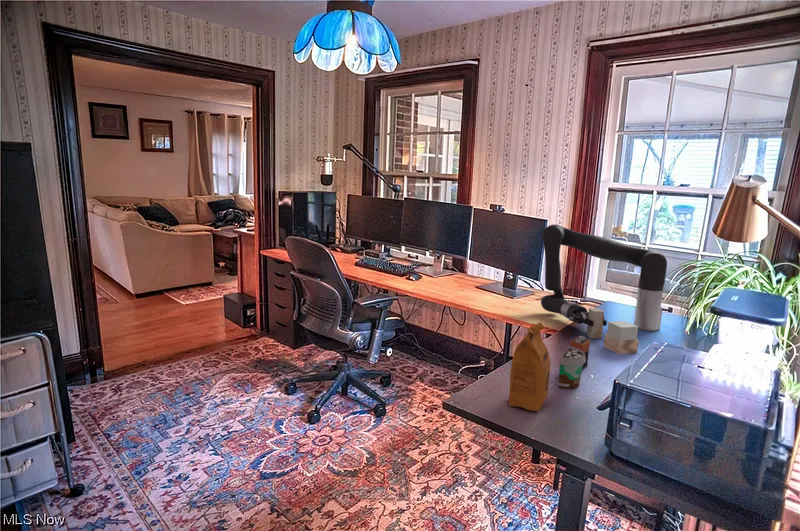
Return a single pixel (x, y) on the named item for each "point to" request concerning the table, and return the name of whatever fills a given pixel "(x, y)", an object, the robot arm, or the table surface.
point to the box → (595, 323)
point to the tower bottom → (620, 345)
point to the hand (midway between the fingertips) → (599, 323)
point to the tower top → (622, 330)
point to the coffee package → (530, 371)
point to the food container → (571, 368)
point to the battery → (581, 346)
